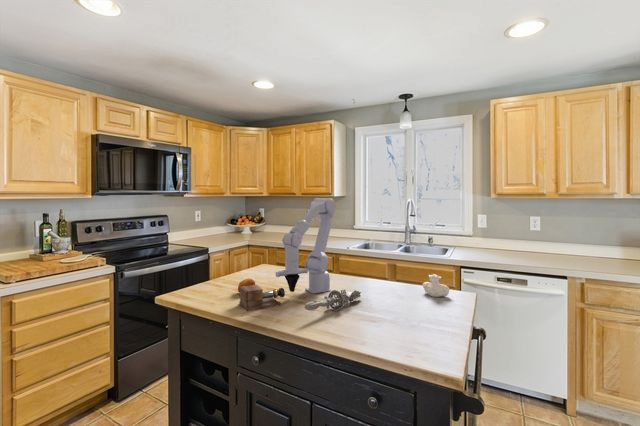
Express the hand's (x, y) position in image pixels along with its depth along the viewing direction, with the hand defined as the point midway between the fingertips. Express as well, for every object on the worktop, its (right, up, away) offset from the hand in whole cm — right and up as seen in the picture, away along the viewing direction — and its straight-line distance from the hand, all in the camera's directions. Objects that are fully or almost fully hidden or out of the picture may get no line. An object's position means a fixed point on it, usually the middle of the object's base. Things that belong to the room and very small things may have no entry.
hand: (291, 291), depth 143 cm
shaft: (-9, -2, -5) cm, 11 cm away
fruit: (-21, -3, +7) cm, 23 cm away
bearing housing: (-13, -4, -7) cm, 15 cm away
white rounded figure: (+64, -4, +5) cm, 65 cm away
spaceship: (+18, -5, -13) cm, 23 cm away
